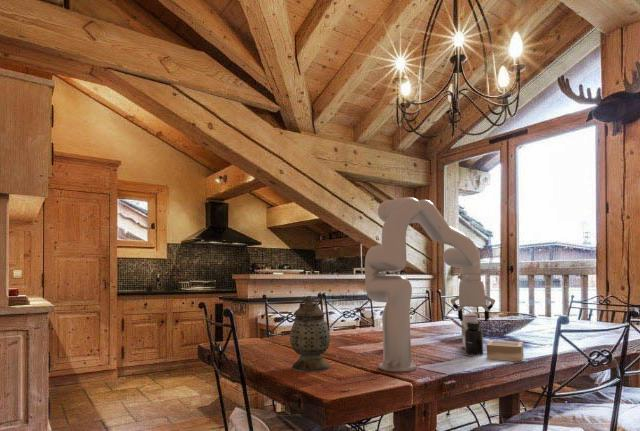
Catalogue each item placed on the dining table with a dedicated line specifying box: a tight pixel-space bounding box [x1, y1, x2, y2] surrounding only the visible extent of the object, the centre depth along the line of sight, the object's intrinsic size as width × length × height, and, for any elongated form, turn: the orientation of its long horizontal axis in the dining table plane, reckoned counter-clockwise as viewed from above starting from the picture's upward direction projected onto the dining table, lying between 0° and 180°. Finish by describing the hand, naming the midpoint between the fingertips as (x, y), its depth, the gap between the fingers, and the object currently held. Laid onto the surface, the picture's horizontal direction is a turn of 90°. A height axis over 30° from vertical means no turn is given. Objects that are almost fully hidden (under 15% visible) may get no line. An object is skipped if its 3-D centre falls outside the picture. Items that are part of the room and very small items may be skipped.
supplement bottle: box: [464, 322, 484, 356], centre depth 190 cm, size 7×7×12 cm
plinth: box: [486, 340, 525, 362], centre depth 181 cm, size 12×12×5 cm
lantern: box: [289, 295, 331, 373], centre depth 167 cm, size 14×14×25 cm
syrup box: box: [460, 312, 479, 349], centre depth 202 cm, size 6×6×14 cm
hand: (473, 320), depth 191 cm, fingers open, 9 cm apart
